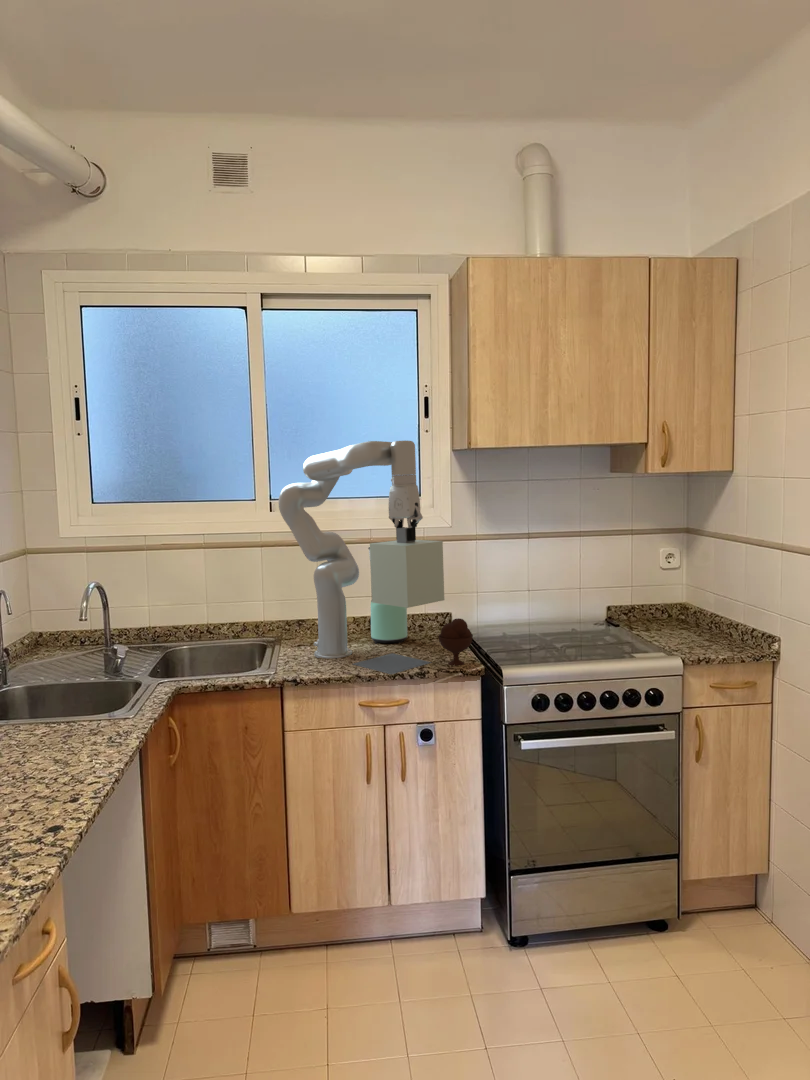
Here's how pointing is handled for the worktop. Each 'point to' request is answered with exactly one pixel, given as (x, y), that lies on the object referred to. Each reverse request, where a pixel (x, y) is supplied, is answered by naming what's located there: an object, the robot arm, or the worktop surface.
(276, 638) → the worktop surface
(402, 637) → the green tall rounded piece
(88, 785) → the worktop surface
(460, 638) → the ice cream bowl
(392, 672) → the mat
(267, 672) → the worktop surface
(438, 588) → the cover
